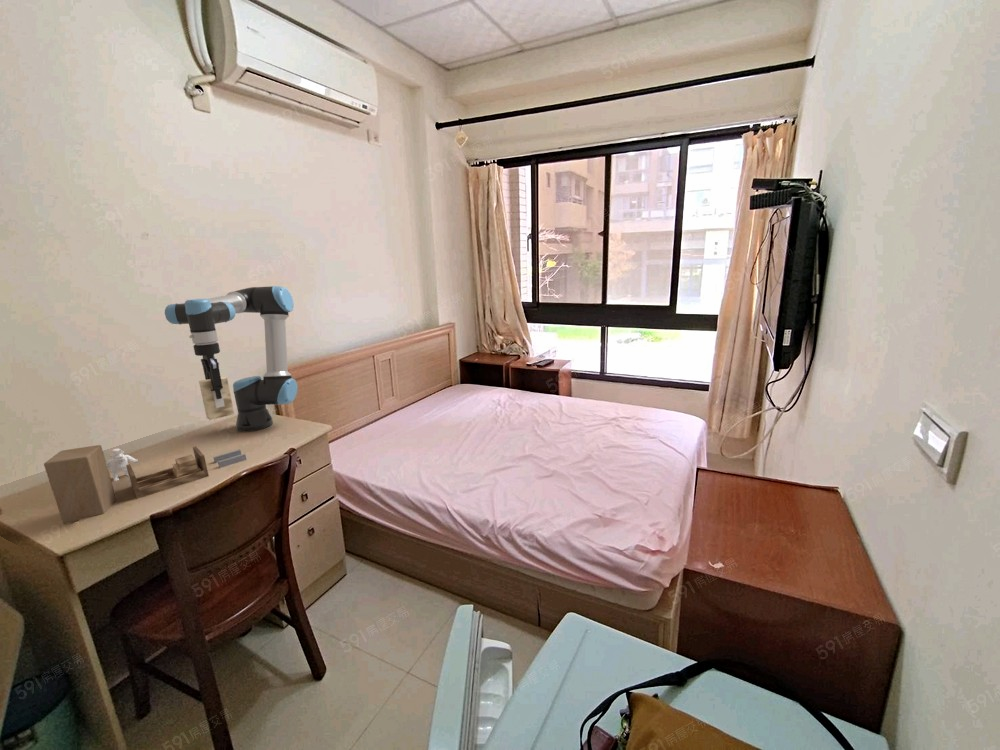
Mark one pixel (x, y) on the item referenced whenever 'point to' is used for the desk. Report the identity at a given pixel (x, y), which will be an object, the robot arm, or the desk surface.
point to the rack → (165, 478)
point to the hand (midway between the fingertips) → (218, 405)
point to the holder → (229, 458)
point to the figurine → (119, 463)
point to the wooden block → (80, 483)
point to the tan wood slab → (210, 403)
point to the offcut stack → (185, 466)
